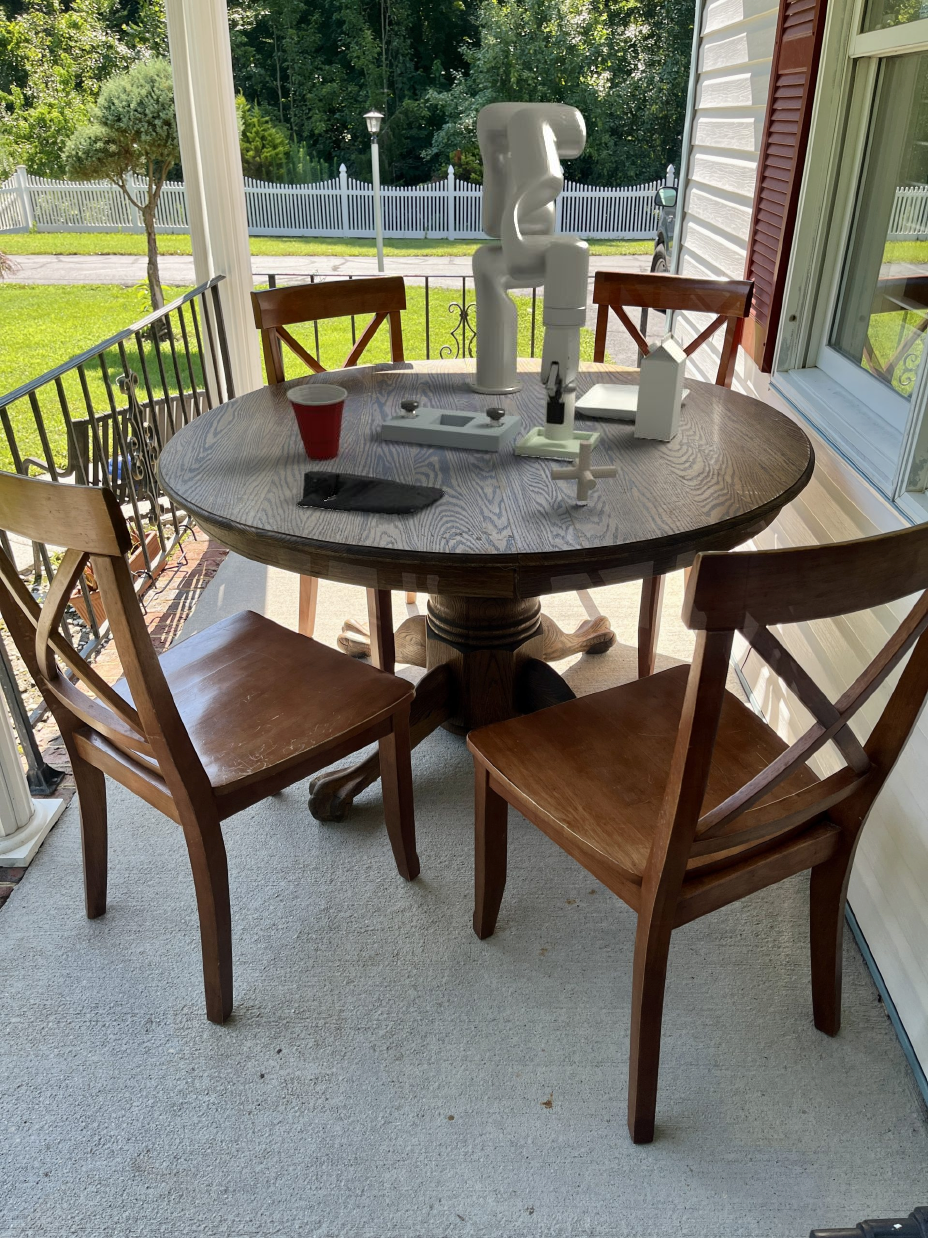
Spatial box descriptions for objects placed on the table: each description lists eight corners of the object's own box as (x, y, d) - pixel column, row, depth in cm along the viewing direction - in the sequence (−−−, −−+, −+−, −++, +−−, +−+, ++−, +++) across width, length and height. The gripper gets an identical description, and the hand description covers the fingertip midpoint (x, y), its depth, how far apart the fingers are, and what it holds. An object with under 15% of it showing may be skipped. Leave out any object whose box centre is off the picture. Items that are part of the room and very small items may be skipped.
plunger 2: (489, 434, 166) (489, 406, 164) (507, 436, 165) (507, 408, 162) (483, 439, 163) (483, 411, 161) (501, 441, 162) (501, 413, 160)
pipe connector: (545, 493, 138) (547, 434, 133) (605, 491, 139) (610, 431, 134) (556, 516, 129) (559, 453, 124) (620, 514, 130) (625, 451, 125)
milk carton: (678, 432, 167) (689, 333, 158) (669, 442, 162) (681, 340, 153) (642, 428, 170) (652, 330, 161) (633, 438, 164) (642, 337, 155)
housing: (411, 420, 177) (410, 406, 175) (520, 431, 169) (521, 416, 168) (382, 439, 165) (381, 424, 164) (498, 451, 158) (498, 436, 156)
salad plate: (570, 420, 177) (571, 403, 176) (595, 396, 195) (596, 381, 193) (672, 430, 170) (674, 413, 169) (688, 404, 188) (690, 388, 186)
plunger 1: (406, 426, 172) (405, 399, 169) (422, 427, 171) (421, 400, 168) (398, 431, 169) (397, 403, 166) (415, 432, 168) (414, 405, 165)
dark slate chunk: (412, 528, 127) (411, 498, 125) (288, 508, 135) (284, 480, 132) (452, 494, 140) (451, 467, 137) (336, 478, 147) (333, 452, 145)
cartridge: (547, 431, 161) (549, 378, 156) (577, 433, 160) (580, 380, 155) (539, 439, 157) (541, 385, 152) (569, 442, 155) (572, 387, 150)
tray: (534, 435, 166) (535, 426, 166) (599, 442, 162) (600, 433, 162) (514, 455, 156) (514, 445, 155) (583, 462, 152) (584, 453, 151)
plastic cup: (303, 468, 150) (296, 401, 144) (285, 452, 158) (278, 388, 153) (360, 459, 154) (356, 393, 149) (340, 443, 163) (335, 381, 157)
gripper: (556, 308, 156) (552, 406, 165) (529, 323, 142) (526, 429, 151) (596, 310, 153) (589, 409, 162) (573, 326, 139) (567, 433, 148)
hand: (559, 418), depth 156 cm, fingers closed on cartridge, 5 cm apart
